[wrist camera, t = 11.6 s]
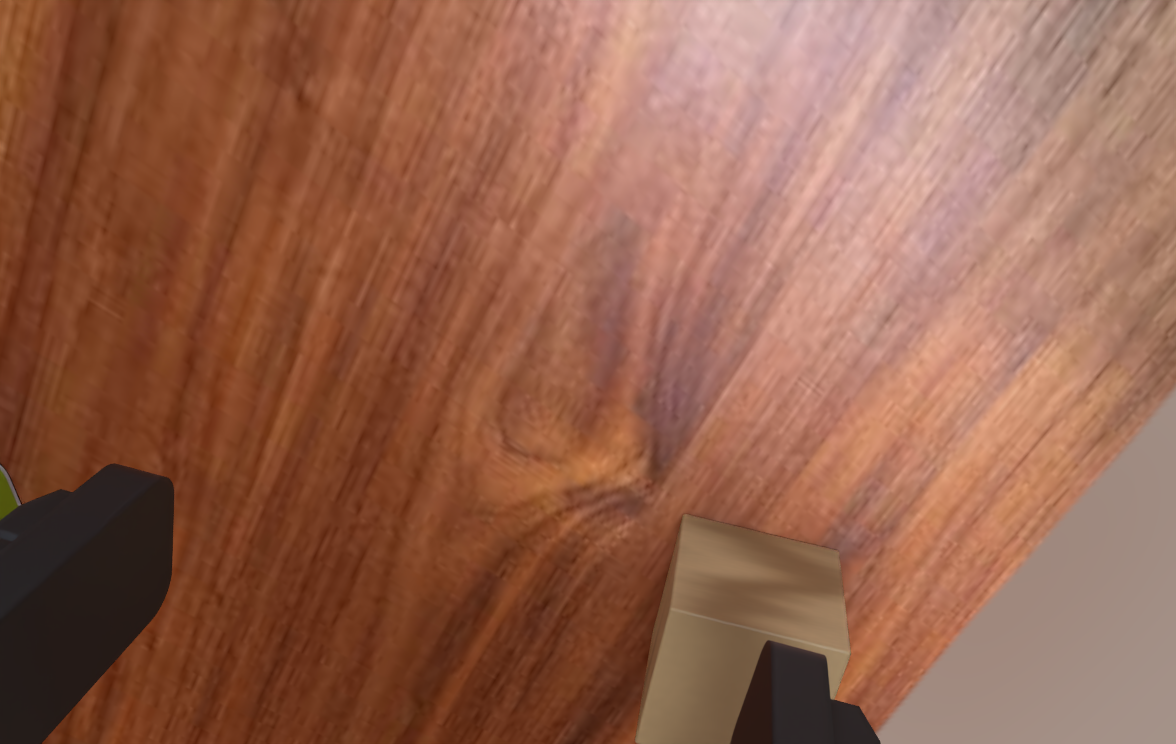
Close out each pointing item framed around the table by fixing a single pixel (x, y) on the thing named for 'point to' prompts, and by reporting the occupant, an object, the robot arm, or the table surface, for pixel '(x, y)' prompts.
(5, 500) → the vape
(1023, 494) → the table surface
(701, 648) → the block
